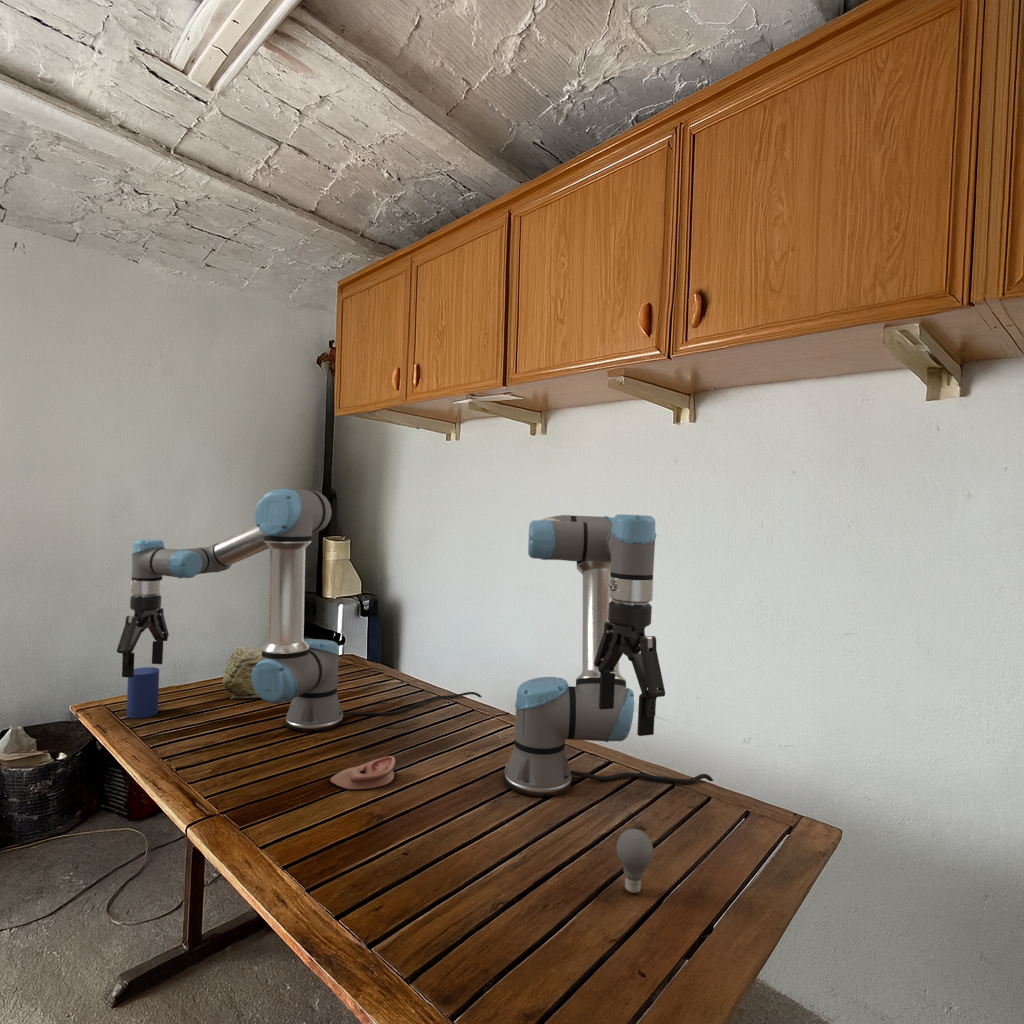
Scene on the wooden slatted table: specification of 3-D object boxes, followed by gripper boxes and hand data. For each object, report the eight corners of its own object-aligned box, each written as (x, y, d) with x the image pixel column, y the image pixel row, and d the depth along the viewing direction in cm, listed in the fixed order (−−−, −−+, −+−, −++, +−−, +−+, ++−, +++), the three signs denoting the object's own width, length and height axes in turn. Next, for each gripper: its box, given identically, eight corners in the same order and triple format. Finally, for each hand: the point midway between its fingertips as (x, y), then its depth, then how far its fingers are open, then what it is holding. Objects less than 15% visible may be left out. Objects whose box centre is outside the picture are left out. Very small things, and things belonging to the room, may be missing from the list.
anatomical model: (324, 767, 138) (348, 748, 150) (323, 785, 138) (347, 764, 150) (381, 775, 136) (401, 755, 147) (380, 794, 136) (400, 772, 147)
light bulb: (610, 879, 108) (613, 822, 108) (644, 879, 109) (647, 822, 109) (619, 902, 102) (622, 840, 102) (655, 901, 103) (658, 840, 103)
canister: (139, 708, 182) (141, 666, 182) (163, 710, 181) (165, 668, 180) (119, 717, 174) (121, 673, 174) (144, 719, 173) (146, 675, 173)
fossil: (218, 695, 195) (220, 647, 195) (278, 685, 208) (279, 640, 207) (228, 703, 189) (230, 653, 188) (289, 692, 201) (290, 645, 201)
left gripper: (158, 587, 189) (155, 658, 190) (103, 601, 164) (99, 682, 165) (183, 589, 189) (180, 659, 190) (131, 602, 164) (128, 684, 165)
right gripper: (579, 591, 122) (574, 700, 123) (650, 615, 99) (644, 749, 99) (614, 591, 125) (609, 697, 125) (691, 614, 102) (684, 745, 102)
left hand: (142, 670), depth 177 cm, fingers open, 13 cm apart
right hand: (624, 721), depth 112 cm, fingers open, 13 cm apart
